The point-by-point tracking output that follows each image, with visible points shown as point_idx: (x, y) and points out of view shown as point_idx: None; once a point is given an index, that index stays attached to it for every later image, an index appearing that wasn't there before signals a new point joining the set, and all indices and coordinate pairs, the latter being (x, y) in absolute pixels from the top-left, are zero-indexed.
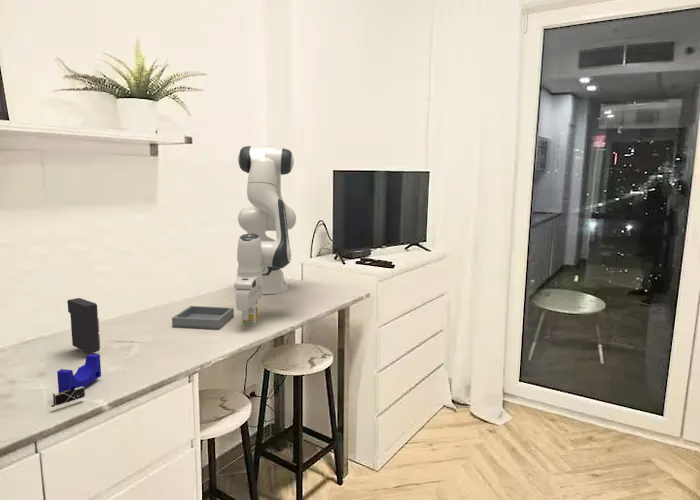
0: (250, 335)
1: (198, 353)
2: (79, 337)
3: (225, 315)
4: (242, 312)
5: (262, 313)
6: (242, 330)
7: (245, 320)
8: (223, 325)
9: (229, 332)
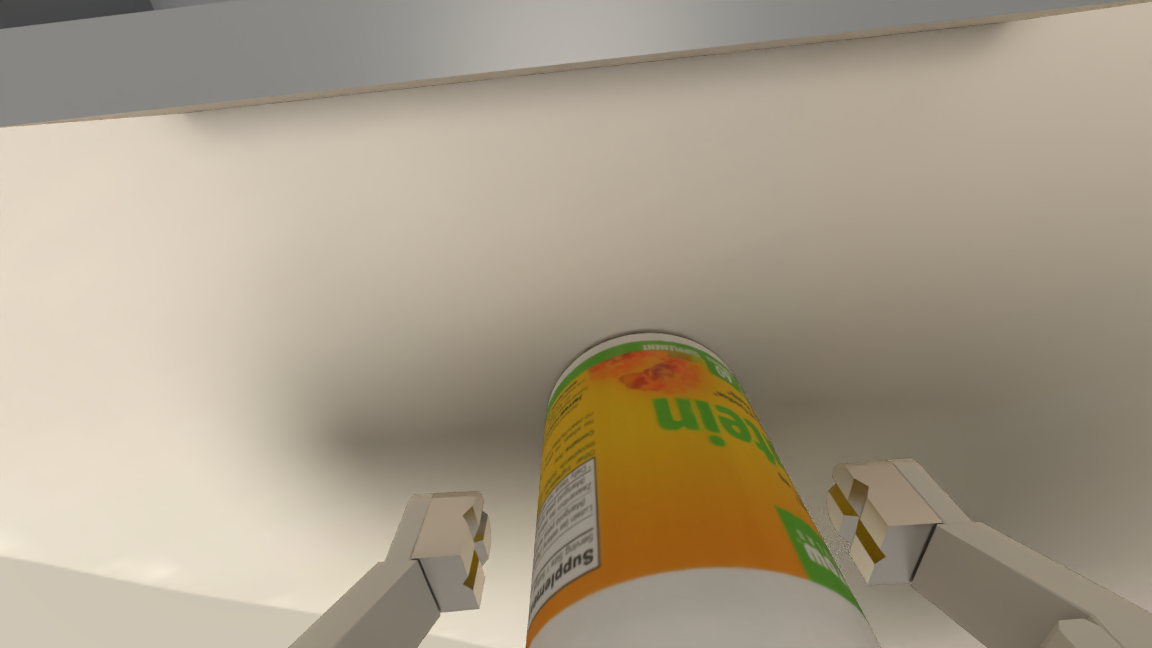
0: (266, 531)
1: None
2: None
3: (498, 72)
4: (307, 636)
5: (1122, 398)
6: (360, 423)
7: (546, 438)
8: (408, 87)
9: (201, 319)
